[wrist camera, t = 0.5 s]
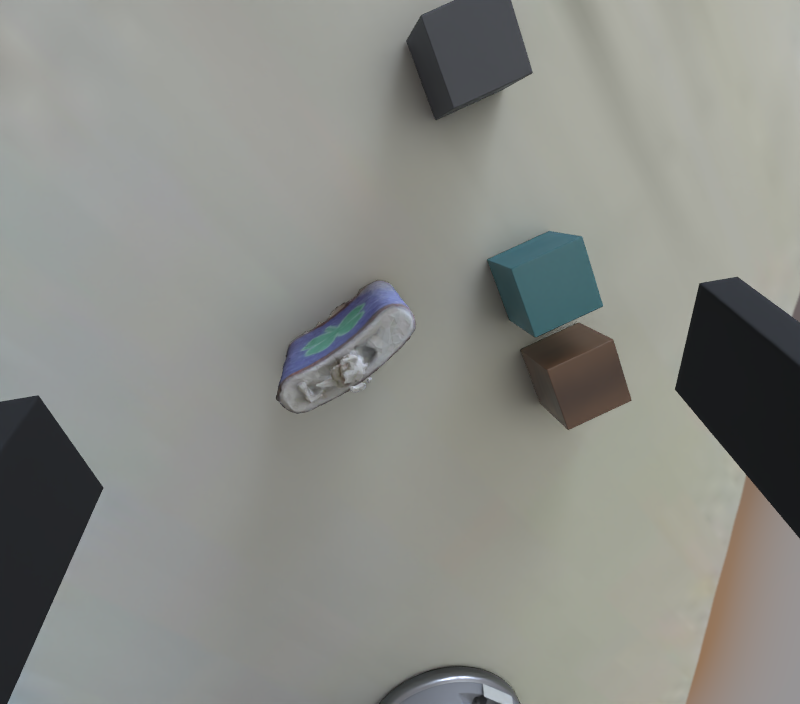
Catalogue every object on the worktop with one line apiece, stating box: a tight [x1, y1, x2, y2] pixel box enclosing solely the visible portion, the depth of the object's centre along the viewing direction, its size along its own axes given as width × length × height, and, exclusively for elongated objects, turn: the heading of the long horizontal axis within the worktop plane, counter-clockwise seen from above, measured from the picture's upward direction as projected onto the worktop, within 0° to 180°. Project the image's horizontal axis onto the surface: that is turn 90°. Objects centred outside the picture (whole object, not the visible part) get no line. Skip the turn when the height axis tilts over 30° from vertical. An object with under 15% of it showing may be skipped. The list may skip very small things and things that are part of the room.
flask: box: [276, 280, 416, 414], centre depth 33 cm, size 9×3×11 cm, turn 125°
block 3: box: [521, 323, 631, 430], centre depth 39 cm, size 5×5×5 cm
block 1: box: [406, 0, 532, 120], centre depth 32 cm, size 5×5×5 cm
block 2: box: [487, 231, 603, 337], centre depth 37 cm, size 5×5×5 cm
